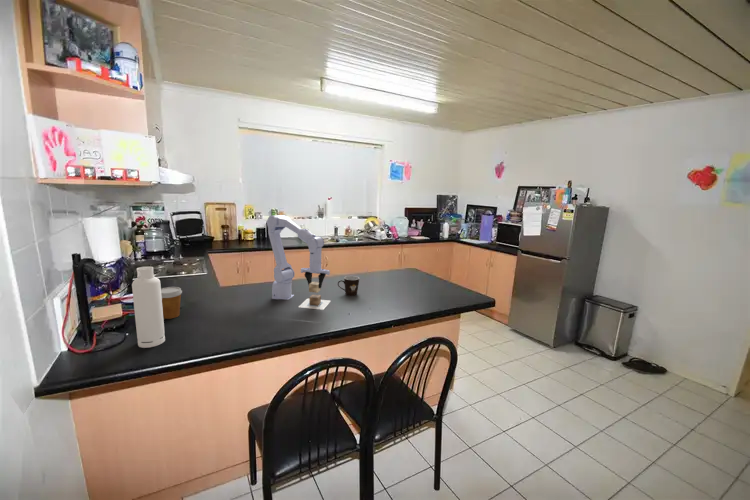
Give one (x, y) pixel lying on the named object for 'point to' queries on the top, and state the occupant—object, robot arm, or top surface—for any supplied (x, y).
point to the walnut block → (315, 300)
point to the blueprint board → (320, 306)
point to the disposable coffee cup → (171, 302)
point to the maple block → (314, 287)
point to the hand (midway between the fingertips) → (315, 287)
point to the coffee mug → (350, 285)
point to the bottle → (148, 308)
